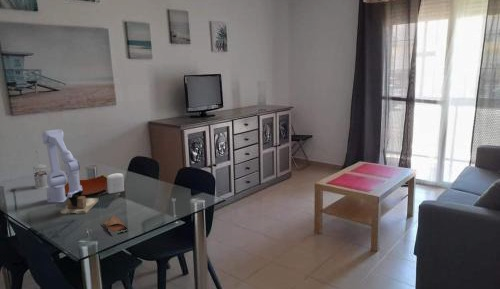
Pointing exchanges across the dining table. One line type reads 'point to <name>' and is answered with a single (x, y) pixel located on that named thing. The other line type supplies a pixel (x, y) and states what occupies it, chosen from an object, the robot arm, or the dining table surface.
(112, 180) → the photo printer
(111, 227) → the sunglasses case
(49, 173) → the robot arm
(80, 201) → the block
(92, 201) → the board
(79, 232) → the dining table surface
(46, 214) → the dining table surface
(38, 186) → the french press
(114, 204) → the dining table surface
